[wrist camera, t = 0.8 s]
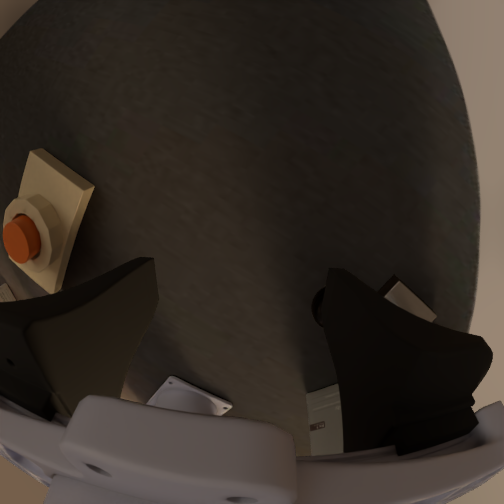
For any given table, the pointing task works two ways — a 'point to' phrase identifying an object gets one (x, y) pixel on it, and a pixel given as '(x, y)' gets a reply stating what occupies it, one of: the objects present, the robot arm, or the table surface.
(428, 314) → the bracket
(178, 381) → the robot arm
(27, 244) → the button
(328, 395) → the cosmetic box
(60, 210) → the button box
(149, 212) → the table surface
